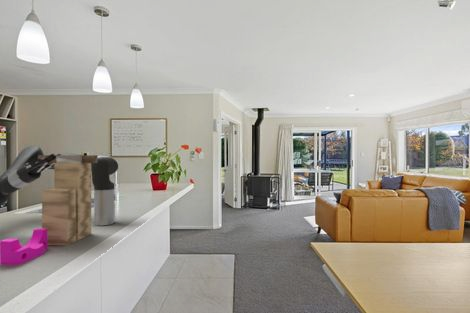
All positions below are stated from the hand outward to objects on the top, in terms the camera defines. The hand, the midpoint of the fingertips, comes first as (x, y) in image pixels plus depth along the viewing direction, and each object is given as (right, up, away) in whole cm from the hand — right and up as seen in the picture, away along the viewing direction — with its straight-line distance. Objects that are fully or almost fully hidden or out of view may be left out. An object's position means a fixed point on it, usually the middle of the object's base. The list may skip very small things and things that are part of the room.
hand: (57, 155), depth 116 cm
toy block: (+5, -35, -23) cm, 42 cm away
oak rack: (+7, -34, -4) cm, 35 cm away
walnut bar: (+5, -3, 0) cm, 5 cm away
